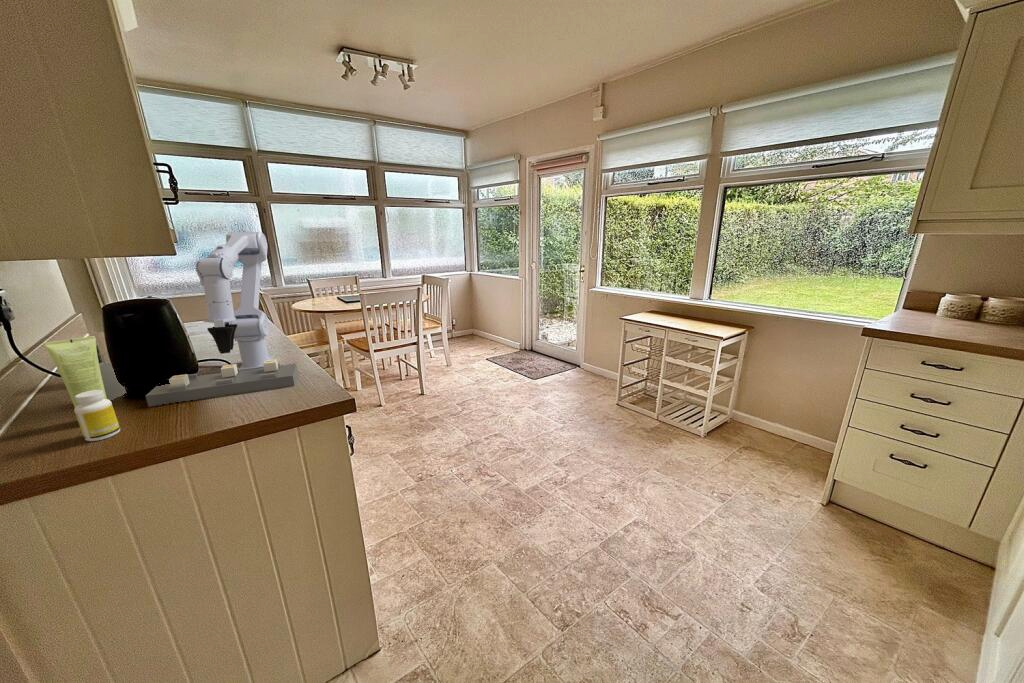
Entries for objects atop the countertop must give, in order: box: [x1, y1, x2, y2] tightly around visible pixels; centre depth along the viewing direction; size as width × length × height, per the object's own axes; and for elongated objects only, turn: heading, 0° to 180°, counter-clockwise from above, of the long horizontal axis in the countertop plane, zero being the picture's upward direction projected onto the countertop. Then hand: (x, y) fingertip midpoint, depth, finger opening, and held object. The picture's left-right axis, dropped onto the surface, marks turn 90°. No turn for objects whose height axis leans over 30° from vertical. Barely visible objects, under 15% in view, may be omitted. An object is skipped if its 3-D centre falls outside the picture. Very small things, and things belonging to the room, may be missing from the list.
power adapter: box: [99, 353, 127, 401], centre depth 98 cm, size 3×5×12 cm, turn 177°
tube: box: [43, 335, 107, 408], centre depth 86 cm, size 6×5×20 cm
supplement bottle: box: [73, 390, 121, 442], centre depth 80 cm, size 5×5×10 cm
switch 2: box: [263, 358, 279, 372], centre depth 110 cm, size 3×3×3 cm
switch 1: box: [168, 373, 190, 387], centre depth 99 cm, size 3×3×3 cm
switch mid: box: [220, 363, 238, 377], centre depth 106 cm, size 3×3×3 cm
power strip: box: [145, 363, 299, 408], centre depth 105 cm, size 11×32×4 cm, turn 114°
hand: (226, 351), depth 105 cm, fingers open, 7 cm apart
